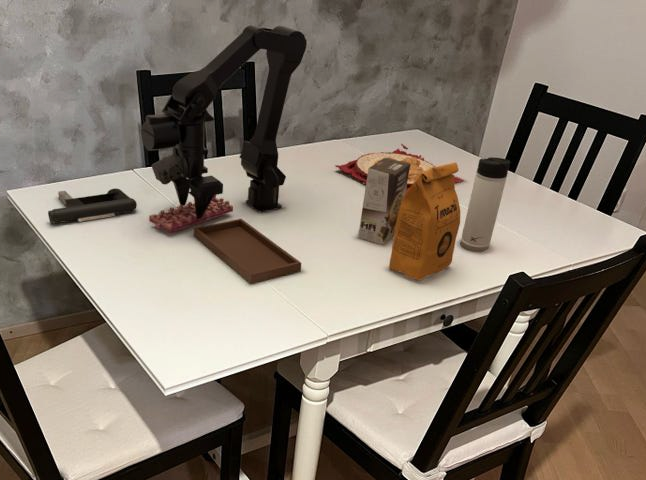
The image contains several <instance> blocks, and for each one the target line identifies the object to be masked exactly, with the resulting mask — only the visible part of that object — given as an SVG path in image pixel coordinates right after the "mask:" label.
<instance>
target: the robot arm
mask: <svg viewBox="0 0 646 480" xmlns="http://www.w3.org/2000/svg"><path fill="white" fill-rule="evenodd" d="M307 45H308V41H307V39H306V37H305V35H304V33H303V32H302V31H299V30H296V29H294V28H290V27H287V26H285V25H277V26H275V27H274V28H270V27H269V28H268V27H263V26H262V27H261V26H256V25H252V24H250V25H246V27H244V28H243V30H242V32H241V33H240V34H239V35H238V36H237V37H236V38H235V39H233V41H232V42H231V43H229V44H228V45H227V46H226V47H225V48H224V49H223V50H222V51H220V53H218V54H217V55H216V56H215V57H214V58H213V59H212V60H211V61H210V62H209V63H207V65H205V66H204V67H203V68H201V69H199V70H196V71H193V72H190V73H188V74H187V75H185V76H184V77H182V78H180V79H179V80H177V81H176V83H175V84H174V85H173V87H172V93H171V94H170V97H169V98H168V100H167V102H166V103H165V105H164V107H163V109H162V110H161V112H162V114H156V115H155V114H147V115H146V116H145V121H144V122H143V124H142V127H141V129H140V135H141V141H142V144H143V146H144V148H145V149H146V150H147V151H149V152H151V151H158V150H164V149H168V148H172V154H170V155H168V156H164V157H162V158H161V159H159V160H157V161H156V162H154V163H152V164H151V169H152V172H153V174H154V177H155V179H156V180H157V181H158V182H160V183H161V184H162V185H168V184H170V183H171V182H172V183H173V187H174V190H175V193H176V196H177V199H178V202H179V205H183V207H184V206H186V204H187V203H188V198H189V195H190V196H191V197H192V198H193V202H194V203H195V211H196V218H197V219H201V218H202V217H203V215H204V213H205V211H206V209H207V207H208V206H209V204H210V202H211V200H212V199H213V197H214V196H215V195H216V196H217V195H222V194H224V183H222V182H221V180H219V179H218V178H216V177H215V176H214V175H207V176H203V174H208V173H209V168H208V167H206V166H205V156H206V155H209V149H208V148H206V147H205V124H206V123H209V122H213V121H215V118H214V117H213V116H212V115H211V114H210V113H209V111H208V108H209V107H210V106H211V104H213V102H214V100H216V96H217V94H218V90H220V88H221V87H222V85H223V84H224V83H225V82H227V81H228V80H229V79H230V78H231V77H232V76H233V75H234V74H235V73H236V72H237V71H238V70H239V69H241V68H242V67H243V65H245V64H246V63H247V62H248V61H249V60H250V59H251V58H252V57H254V56H255V55H256V54H257V53H258V52H259V51H260V50H266V52H265V55H266V60H267V65H268V72H267V78H266V83H265V86H264V91H263V94H262V99H261V104H260V108H259V113H258V117H257V122H256V127H255V131H254V134H253V136H252V137H251V138H250V140H249V141H247V140H243V143H242V148H241V153H240V155H239V159H240V165H241V168H242V169H243V170H244V172H245V175H246V177H248V178H250V181H249V187H248V189H247V191H248V192H247V200H245V204H247V205H248V206H250V207H251V208H252V209H254V210H255V211H257V212H259V213H263V212H267V211H273V210H278V209H282V208H283V207H282V206H283V205H282V204H280V203H279V197H280V196H279V194H280V186H284V185H285V181H286V178H287V176H286V175H285V173H284V172H283V171H282V170H281V169H280V168H279V167H278V165H279V164H278V163H279V150H278V145H277V137H278V132H279V127H280V124H281V120H282V116H283V115H282V114H283V111H284V107H285V102H286V100H287V95H288V90H289V86H290V81H291V77H292V75H293V73H294V72H295V71H296V70H297V69H298V67H299V66H300V65H301V63H302V61H303V58H304V56H305V53H306V50H307ZM178 108H181V109H183V111H182V110H180V109H178Z"/></svg>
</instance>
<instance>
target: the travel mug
mask: <svg viewBox="0 0 646 480" xmlns="http://www.w3.org/2000/svg"><path fill="white" fill-rule="evenodd" d="M510 164H511V161H510V160H509V159H507V158H501V157H491V156H490V157H488V158H480V159H478V164H477V168H476V172H475V177H474V181H473V184H472V189H471V194H470V199H469V202H468V207H467V210H466V211H467V212H466V216H465V220H464V224H463V229H462V232H461V233H462V234H461V238H460V243H459V244H460V246H461V247H462V248H463V249H465V250H466V251H470V252H475V253H481V252H483V253H484V252H486V251H488V250H489V249H490V245H491V241H492V237H493V233H494V229H495V226H496V221H497V217H498V214H499V210H500V206H501V202H502V199H503V195H504V194H503V193H504V189H505V187H506V186H505V185H506V182H507V178H508V172H509V168H510V166H511V165H510Z"/></svg>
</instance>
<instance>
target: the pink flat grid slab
mask: <svg viewBox="0 0 646 480" xmlns="http://www.w3.org/2000/svg"><path fill="white" fill-rule="evenodd" d="M232 212H234V205H232V204H230V201H229V200H225V199H224V198H223V197H220V198H217V195H215V196H214V197H213V199H212V200H211V202H210V204H209V206H208V207H207V209H206V211H205V213H204V215H203V217H202V218H201V219H197V218H196V211H195V203H193V202H192V201H189V202H188V201H187V203H186V205H185V206H183V205H180V204H179V205H178V206H177V207H176V208H174V207H169V209H167V211H165V210H160V212H158V214H156V213H155V214H150V215H148V219H149V223H152V224H153V225H155V227H156V228H158V229H159V228H161V229H163V230H165V231H166V232H168V233H172V232H175V231H178V230H181V229H184V228H187V227H190V226H193V225H197V224H199V223H202V222H205V221H207V220H211V219H214V218H217V217H220V216H224V215H226V214H229V213H232Z"/></svg>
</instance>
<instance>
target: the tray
mask: <svg viewBox="0 0 646 480" xmlns="http://www.w3.org/2000/svg"><path fill="white" fill-rule="evenodd" d="M193 237H194V239H196V240H197V241H198V242H200V243H201V244H202V245H203V246H204V247H206V248H207V249H208V250H209V251H210V252H212V253H213V254H214V255H215V256H216V257H218V258H219V259H220V260H221V261H223V262H224V263H225V264H226V265H227V266H228V267H230V268H231V269H232V270H233V271H234V272H236V273H237V274H238V275H239V276H240V277H242V278H243V279H244V280H245V281H246V282H247V283H249V284H250V285H251V284H256V283H260V282H264V281H268V280H273V279H276V278H280V277H285V276H288V275H293V274H297V273H301V270H302V262H301V261H299V260H298V259H297V258H296V257H294V256H293V255H292V254H290V253H289V252H287V251H286V250H285V249H283V248H282V247H281V246H280V245H278V244H276V243H275V242H274V241H273V240H271V239H270V238H269V237H267V236H266V235H264V234H263V233H261V232H260V231H259V230H257V229H256V228H255V227H254V226H252V225H251V224H249V222H246V221H245V220H244V219H243V218H237V219H232V220H227V221H221V222H217V223H212V224H207V225H201V226H196V227H193Z"/></svg>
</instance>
